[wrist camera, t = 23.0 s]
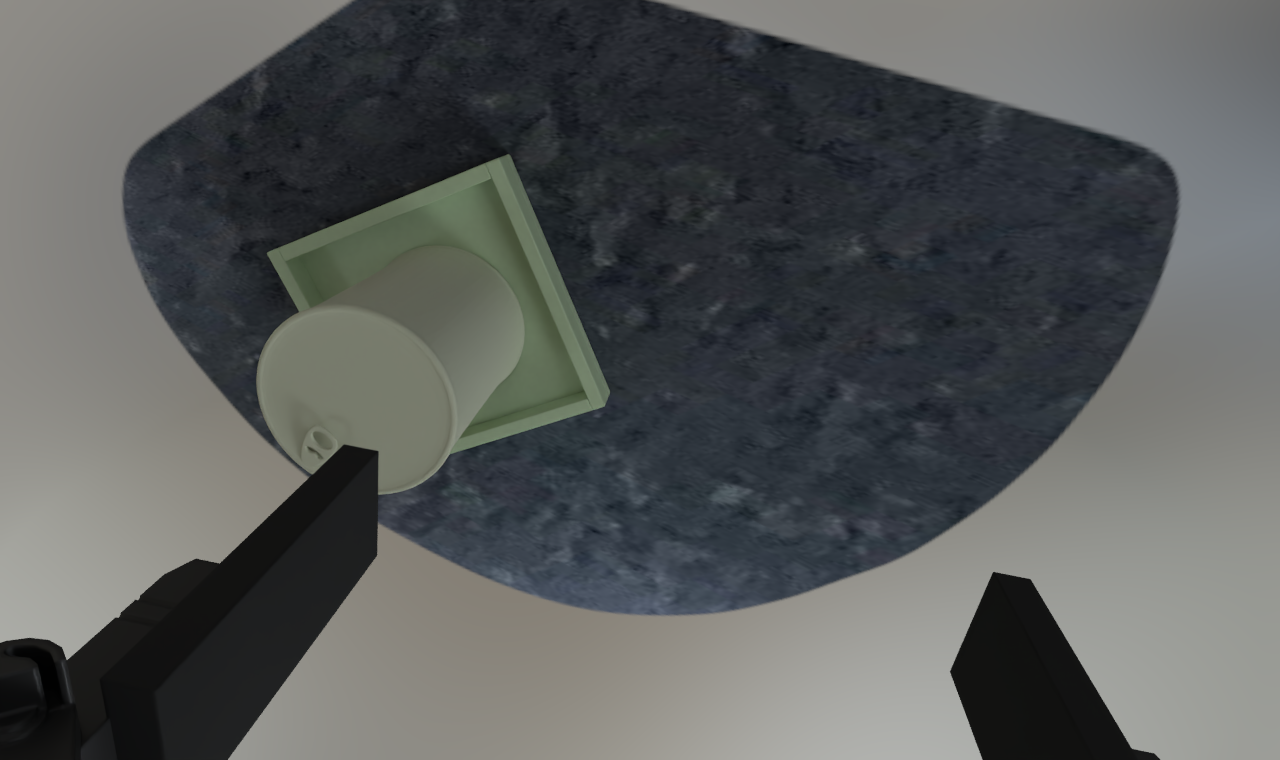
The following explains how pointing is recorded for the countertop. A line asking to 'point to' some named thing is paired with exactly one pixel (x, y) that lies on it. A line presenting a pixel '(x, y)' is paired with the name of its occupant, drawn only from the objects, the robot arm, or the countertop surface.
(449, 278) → the can
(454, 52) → the countertop surface
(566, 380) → the tray
